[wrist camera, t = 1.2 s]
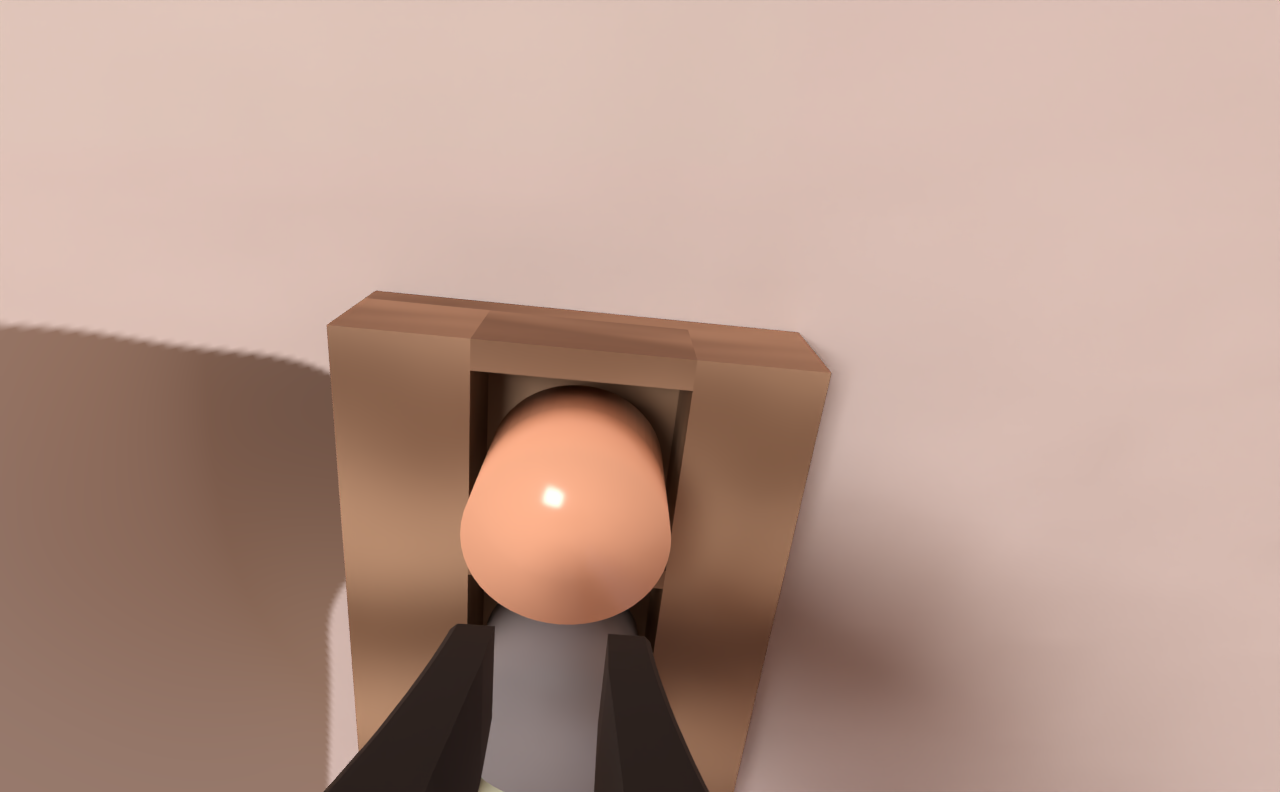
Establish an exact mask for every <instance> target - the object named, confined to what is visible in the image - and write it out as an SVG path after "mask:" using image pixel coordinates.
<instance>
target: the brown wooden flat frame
mask: <svg viewBox="0 0 1280 792" xmlns="http://www.w3.org/2000/svg"><path fill="white" fill-rule="evenodd" d="M327 336H328V349H329V362H330V376H331V389H332V401H333V416H334V428H335V442H336V456H337V469H338V481H339V494H340V509H341V522H342V536H343V549H344V562H345V575H346V589H347V602H348V615H349V629H350V642H351V655H352V669H353V682H354V695H355V709H356V722H357V735H358V749H359V751H360V750H361V749H362V748H363V746H364V745H365V744H366V743H367V742H368V741H369V739H370V738H371V737H372V736H373V735H374V733H375V732H376V731H377V730H378V729H379V727H380V726H381V725H382V724H383V722H384V721H385V720H386V718H387V717H388V716H389V715H390V713H391V712H392V711H393V710H394V708H395V707H396V706H397V704H398V703H399V702H400V701H401V699H402V698H403V697H404V695H405V694H406V693H407V692H408V690H409V689H410V688H411V686H412V685H413V683H414V682H415V681H416V679H417V678H418V677H419V675H420V674H421V672H422V671H423V670H424V668H425V667H426V665H427V664H428V663H429V661H430V660H431V658H432V657H433V655H434V654H435V652H436V651H437V649H438V648H439V646H440V645H441V643H442V642H443V640H444V638H445V637H446V635H447V634H448V632H449V630H450V629H451V628H452V627H453V626H455V625H456V624H472V625H486V626H487V622H488V619H489V617H490V615H491V612H492V611H493V609H494V608H495V606H496V605H497V604H498V602H497V601H495V600H494V599H493V598H491V597H490V596H489V595H488V594H487V593H486V592H485V591H484V590H483V589H482V588H481V587H480V585H479V584H478V583H477V581H476V580H475V579H474V577H473V576H472V574H471V572H470V570H469V569H468V567H467V564H466V562H465V559H464V557H463V552H462V548H461V540H460V528H461V520H462V516H463V512H464V509H465V507H466V504H467V502H468V499H469V497H470V494H471V492H472V489H473V487H474V484H475V482H476V479H477V477H478V474H479V472H480V469H481V467H482V464H483V462H484V460H485V457H486V455H487V452H488V450H489V447H490V445H491V442H492V440H493V437H494V435H495V433H496V430H497V428H498V426H499V425H500V423H501V421H502V420H503V418H504V417H505V416H506V415H507V414H508V412H509V411H510V410H511V409H512V408H514V407H515V406H516V405H517V404H518V403H520V402H521V401H522V400H524V399H525V398H527V397H529V396H531V395H533V394H535V393H537V392H539V391H542V390H545V389H548V388H553V387H557V386H565V385H584V386H591V387H596V388H600V389H603V390H607V391H609V392H611V393H614V394H616V395H618V396H620V397H622V398H623V399H625V400H627V401H628V402H629V403H631V404H632V405H633V406H635V407H636V408H637V409H638V410H639V411H640V412H641V413H642V414H643V415H644V416H645V417H646V419H647V420H648V421H649V423H650V424H651V426H652V428H653V429H654V431H655V433H656V435H657V438H658V440H659V443H660V448H661V452H662V460H663V469H664V477H665V486H666V495H667V503H668V512H669V521H670V530H671V548H670V553H669V558H668V562H667V564H666V567H665V569H664V572H663V573H662V575H661V577H660V578H659V580H658V582H657V583H656V584H655V586H654V587H653V588H652V589H651V591H650V592H649V593H648V594H647V595H646V596H645V597H644V598H643V599H641V600H640V601H639V602H637V603H636V604H635V605H633V606H632V607H630V608H629V610H630V612H631V613H632V615H633V617H634V619H635V622H636V625H637V629H638V636H645V637H646V638H647V639H648V640H649V641H650V643H651V648H652V652H653V656H654V659H655V663H656V666H657V669H658V673H659V676H660V679H661V682H662V684H663V687H664V690H665V693H666V695H667V698H668V701H669V703H670V706H671V709H672V711H673V714H674V716H675V719H676V721H677V723H678V726H679V728H680V730H681V732H682V735H683V737H684V739H685V742H686V744H687V746H688V748H689V751H690V753H691V755H692V757H693V760H694V762H695V764H696V766H697V768H698V770H699V772H700V774H701V776H702V778H703V780H704V782H705V784H706V786H707V788H708V790H709V792H734V787H735V783H736V779H737V775H738V770H739V766H740V762H741V758H742V753H743V749H744V745H745V740H746V736H747V732H748V728H749V723H750V719H751V715H752V711H753V706H754V702H755V698H756V693H757V689H758V685H759V681H760V676H761V672H762V668H763V663H764V659H765V655H766V651H767V646H768V642H769V638H770V634H771V629H772V625H773V621H774V616H775V612H776V608H777V604H778V599H779V595H780V591H781V586H782V582H783V578H784V574H785V569H786V565H787V561H788V557H789V552H790V548H791V544H792V539H793V535H794V531H795V527H796V522H797V518H798V514H799V510H800V505H801V501H802V497H803V492H804V488H805V484H806V480H807V475H808V471H809V467H810V462H811V458H812V454H813V450H814V445H815V441H816V437H817V433H818V428H819V424H820V420H821V415H822V411H823V407H824V403H825V398H826V394H827V390H828V385H829V381H830V377H831V372H830V371H829V369H828V368H827V367H826V366H825V365H824V363H823V362H822V361H821V360H820V358H819V357H818V356H817V355H816V353H815V352H814V351H813V350H812V349H811V347H810V346H809V345H808V344H807V342H806V341H805V340H804V339H803V338H802V336H801V335H800V334H799V333H798V332H788V331H778V330H767V329H757V328H747V327H737V326H727V325H717V324H707V323H696V322H686V321H676V320H666V319H656V318H646V317H635V316H625V315H615V314H605V313H595V312H585V311H575V310H564V309H554V308H544V307H534V306H524V305H514V304H504V303H493V302H483V301H473V300H463V299H453V298H443V297H432V296H422V295H412V294H402V293H392V292H382V291H375V292H373V293H372V294H370V295H369V296H367V297H366V298H365V299H363V300H362V301H360V302H359V303H357V304H356V305H355V306H353V307H352V308H350V309H349V310H348V311H346V312H345V313H343V314H342V315H340V316H339V317H338V318H336V319H335V320H333V321H332V322H330V323H329V324H328V325H327Z"/></svg>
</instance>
